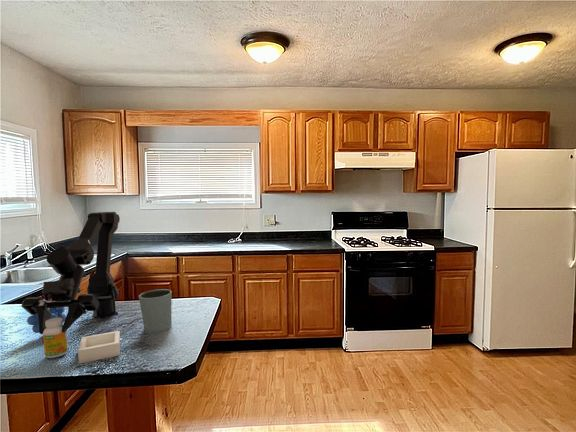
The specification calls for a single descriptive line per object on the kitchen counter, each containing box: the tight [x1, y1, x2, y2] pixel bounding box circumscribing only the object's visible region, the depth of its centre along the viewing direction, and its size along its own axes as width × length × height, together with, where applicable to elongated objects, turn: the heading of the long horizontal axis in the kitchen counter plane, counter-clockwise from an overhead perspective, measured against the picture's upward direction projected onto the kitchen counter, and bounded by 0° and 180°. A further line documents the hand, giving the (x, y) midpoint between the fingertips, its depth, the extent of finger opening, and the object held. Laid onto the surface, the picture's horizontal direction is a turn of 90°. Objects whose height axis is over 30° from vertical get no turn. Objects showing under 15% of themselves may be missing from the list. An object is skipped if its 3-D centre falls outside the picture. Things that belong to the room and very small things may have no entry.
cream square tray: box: [77, 330, 121, 364], centre depth 97 cm, size 10×10×4 cm
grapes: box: [26, 298, 67, 334], centre depth 110 cm, size 12×7×12 cm, turn 156°
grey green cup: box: [138, 288, 173, 335], centre depth 113 cm, size 10×10×12 cm
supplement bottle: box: [42, 318, 68, 359], centre depth 95 cm, size 5×5×10 cm
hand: (51, 332), depth 94 cm, fingers closed on supplement bottle, 5 cm apart
